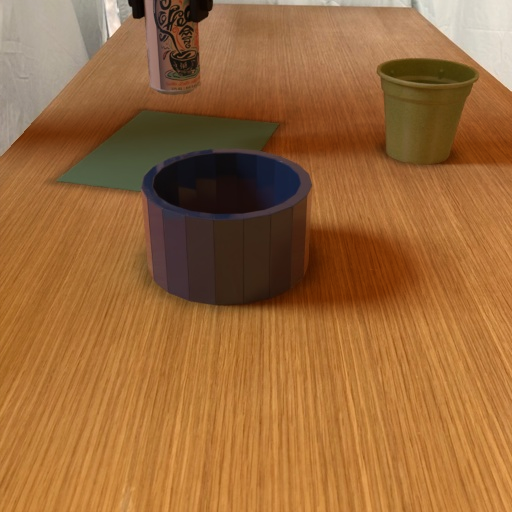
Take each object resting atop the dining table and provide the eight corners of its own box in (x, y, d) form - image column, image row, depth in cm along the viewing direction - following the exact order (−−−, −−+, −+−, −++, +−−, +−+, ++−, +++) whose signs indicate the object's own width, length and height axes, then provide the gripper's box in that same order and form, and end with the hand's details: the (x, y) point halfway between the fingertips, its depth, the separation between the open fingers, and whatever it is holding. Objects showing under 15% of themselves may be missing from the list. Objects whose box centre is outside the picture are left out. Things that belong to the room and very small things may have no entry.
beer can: (169, 100, 63) (160, -42, 57) (140, 88, 66) (128, -48, 60) (210, 90, 66) (206, -47, 60) (181, 79, 69) (174, -53, 63)
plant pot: (351, 146, 71) (358, 62, 67) (427, 134, 75) (439, 53, 70) (402, 182, 64) (414, 89, 60) (484, 166, 67) (501, 77, 63)
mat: (56, 186, 63) (55, 180, 62) (143, 115, 79) (143, 110, 79) (225, 207, 59) (225, 201, 59) (279, 128, 76) (279, 123, 76)
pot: (123, 296, 48) (112, 206, 44) (181, 220, 57) (177, 141, 54) (287, 323, 45) (291, 229, 42) (320, 239, 55) (325, 157, 51)
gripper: (32, -230, 52) (65, 21, 61) (250, -235, 48) (250, 33, 58) (79, -222, 58) (103, 4, 68) (275, -226, 54) (272, 14, 64)
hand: (171, 15), depth 62 cm, fingers closed on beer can, 4 cm apart
